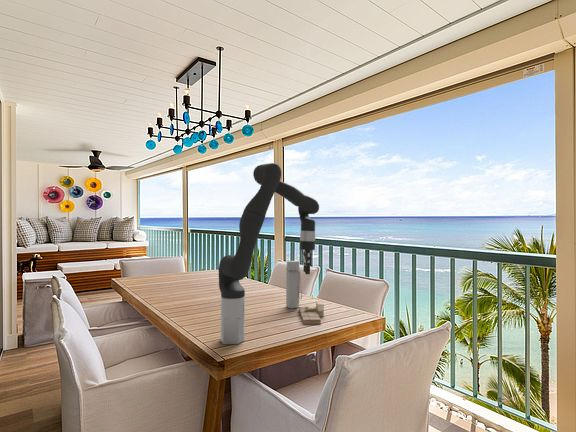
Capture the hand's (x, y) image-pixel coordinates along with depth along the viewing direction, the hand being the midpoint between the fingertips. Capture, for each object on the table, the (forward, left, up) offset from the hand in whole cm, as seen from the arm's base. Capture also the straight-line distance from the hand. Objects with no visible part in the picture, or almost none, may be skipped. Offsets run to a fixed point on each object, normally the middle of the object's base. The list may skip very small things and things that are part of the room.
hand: (306, 273), depth 160 cm
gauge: (+4, -4, -22) cm, 22 cm away
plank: (0, -1, -22) cm, 21 cm away
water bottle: (+18, +5, -22) cm, 28 cm away
